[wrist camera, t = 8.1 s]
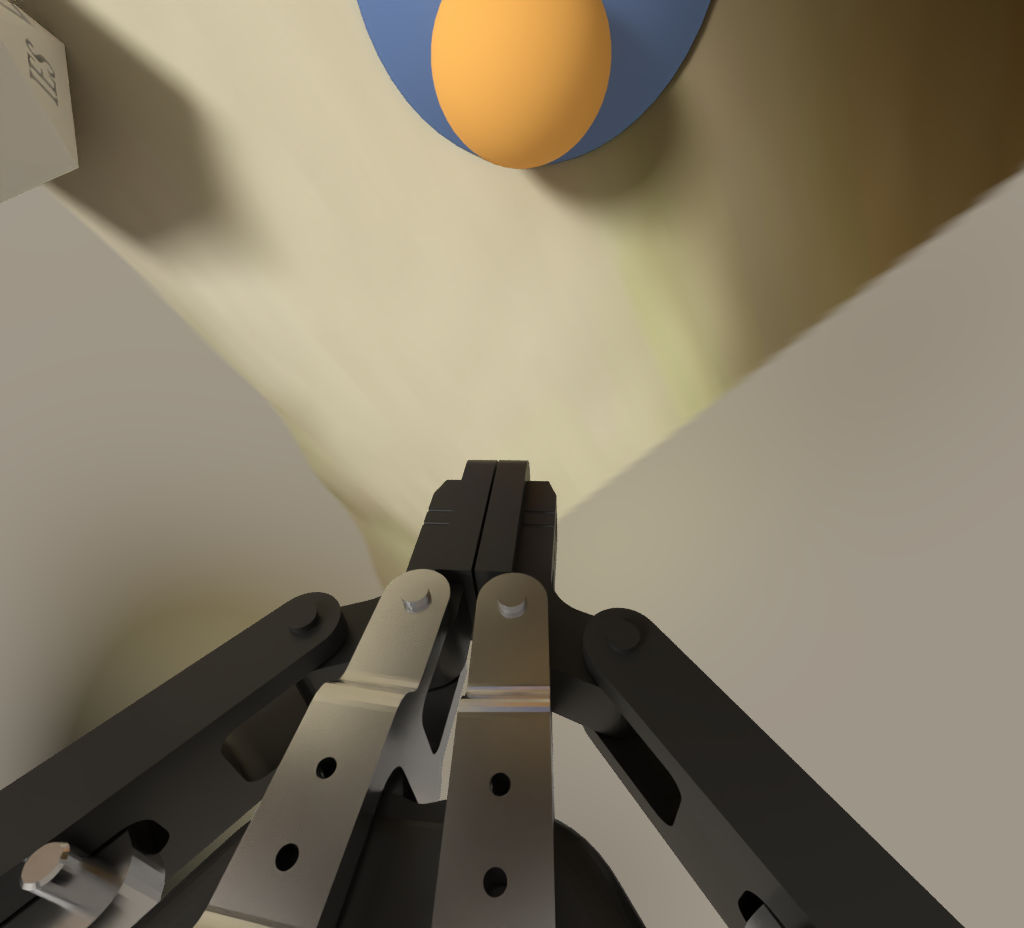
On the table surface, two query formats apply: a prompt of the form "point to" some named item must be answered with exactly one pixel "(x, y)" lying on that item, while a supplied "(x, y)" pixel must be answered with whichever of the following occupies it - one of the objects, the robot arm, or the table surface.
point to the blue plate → (633, 75)
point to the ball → (521, 75)
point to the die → (32, 105)
